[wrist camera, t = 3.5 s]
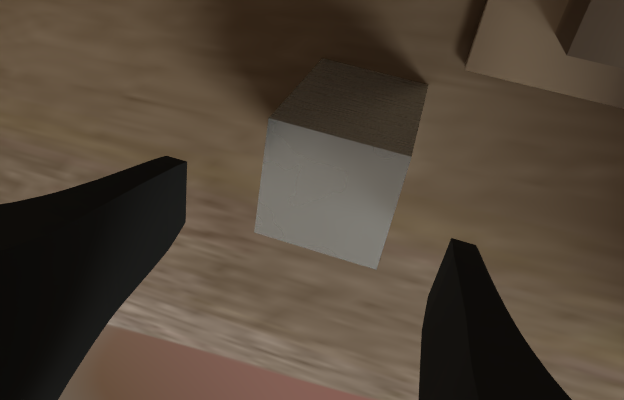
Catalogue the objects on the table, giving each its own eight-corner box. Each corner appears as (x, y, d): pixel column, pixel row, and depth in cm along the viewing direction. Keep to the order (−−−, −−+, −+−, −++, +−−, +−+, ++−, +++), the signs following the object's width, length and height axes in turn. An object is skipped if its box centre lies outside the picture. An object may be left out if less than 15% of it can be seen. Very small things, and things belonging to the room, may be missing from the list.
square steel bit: (428, 84, 18) (411, 157, 13) (400, 177, 21) (376, 269, 16) (322, 58, 19) (268, 118, 14) (305, 152, 21) (254, 232, 16)
